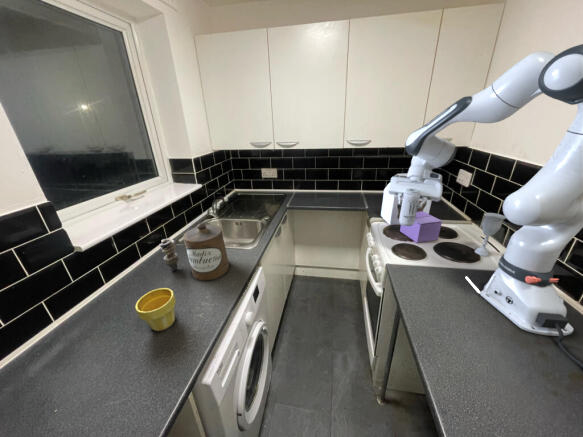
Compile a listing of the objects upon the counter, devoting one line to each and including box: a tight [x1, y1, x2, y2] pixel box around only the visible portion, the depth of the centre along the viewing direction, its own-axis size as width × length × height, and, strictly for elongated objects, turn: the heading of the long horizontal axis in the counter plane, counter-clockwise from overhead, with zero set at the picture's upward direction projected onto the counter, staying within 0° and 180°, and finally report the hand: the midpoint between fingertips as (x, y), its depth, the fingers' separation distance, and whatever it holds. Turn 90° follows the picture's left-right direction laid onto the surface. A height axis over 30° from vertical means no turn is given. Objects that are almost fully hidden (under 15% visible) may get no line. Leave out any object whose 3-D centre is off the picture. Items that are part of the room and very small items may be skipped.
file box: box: [399, 211, 443, 244], centre depth 117 cm, size 13×12×10 cm
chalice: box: [474, 212, 507, 257], centre depth 99 cm, size 7×7×18 cm
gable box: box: [380, 172, 433, 226], centre depth 132 cm, size 22×13×28 cm, turn 92°
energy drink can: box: [399, 188, 420, 226], centre depth 95 cm, size 6×6×15 cm
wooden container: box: [182, 222, 230, 281], centre depth 94 cm, size 15×15×22 cm
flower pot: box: [134, 287, 177, 332], centre depth 71 cm, size 10×10×10 cm
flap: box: [415, 215, 443, 224], centre depth 112 cm, size 6×12×1 cm, turn 103°
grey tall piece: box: [159, 238, 179, 272], centre depth 96 cm, size 6×6×15 cm
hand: (409, 206), depth 95 cm, fingers closed on energy drink can, 6 cm apart
